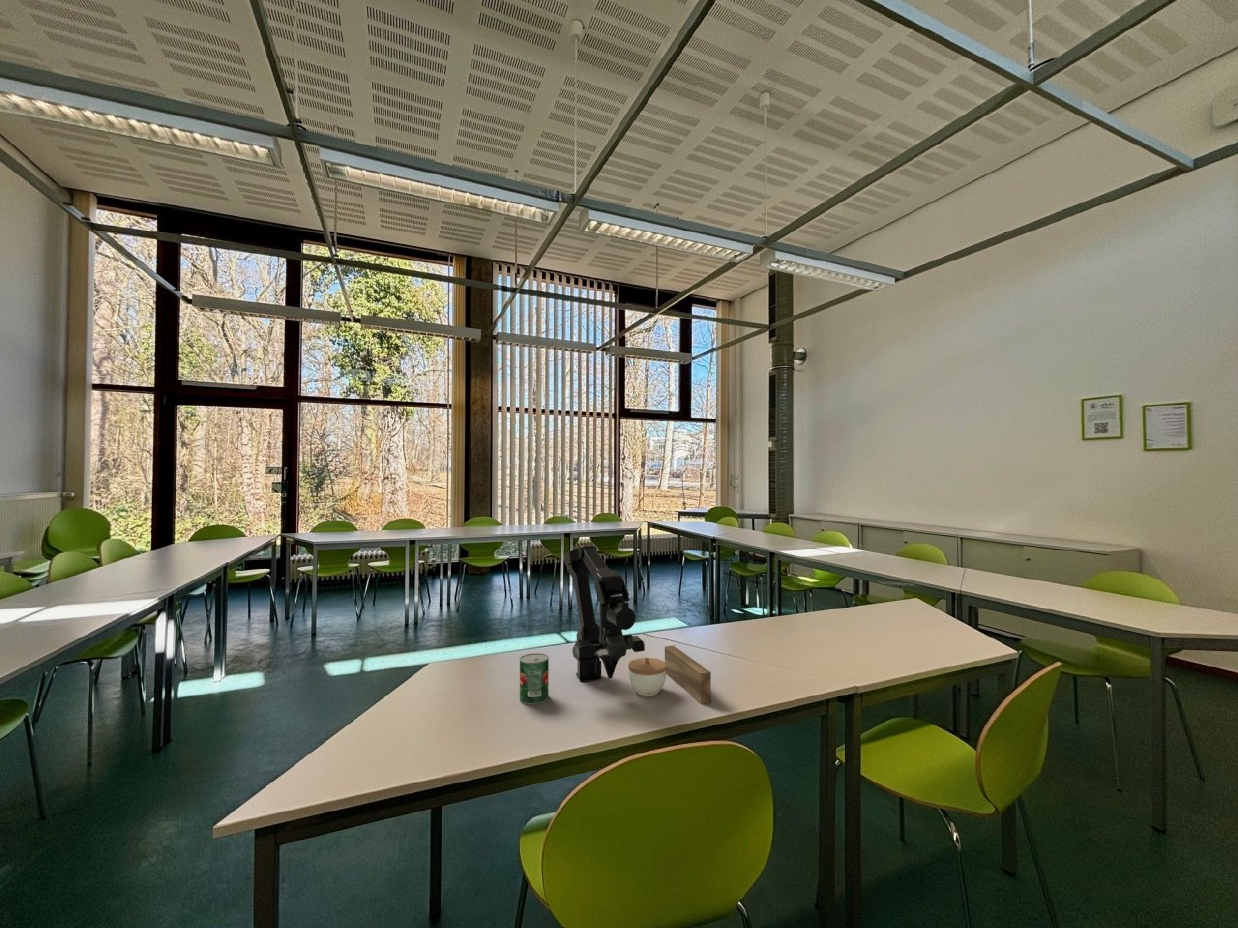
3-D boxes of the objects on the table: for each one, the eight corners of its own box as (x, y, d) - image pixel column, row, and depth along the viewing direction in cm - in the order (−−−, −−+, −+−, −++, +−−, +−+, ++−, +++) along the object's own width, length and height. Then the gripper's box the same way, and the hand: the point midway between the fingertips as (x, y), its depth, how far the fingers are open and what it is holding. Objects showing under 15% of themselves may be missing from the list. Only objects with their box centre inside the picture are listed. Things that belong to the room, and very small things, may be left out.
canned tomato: (514, 697, 138) (514, 656, 139) (540, 690, 143) (540, 651, 143) (527, 707, 132) (527, 664, 132) (554, 699, 137) (554, 658, 137)
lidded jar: (620, 691, 141) (620, 658, 142) (646, 681, 149) (646, 649, 149) (648, 703, 134) (648, 667, 134) (674, 691, 141) (674, 658, 142)
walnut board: (700, 703, 133) (700, 673, 134) (664, 672, 156) (664, 646, 156) (710, 702, 134) (710, 671, 134) (673, 671, 157) (673, 645, 157)
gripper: (584, 631, 128) (584, 694, 128) (652, 625, 134) (652, 684, 133) (574, 620, 139) (574, 678, 138) (637, 615, 145) (638, 670, 144)
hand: (610, 678), depth 138 cm, fingers closed
